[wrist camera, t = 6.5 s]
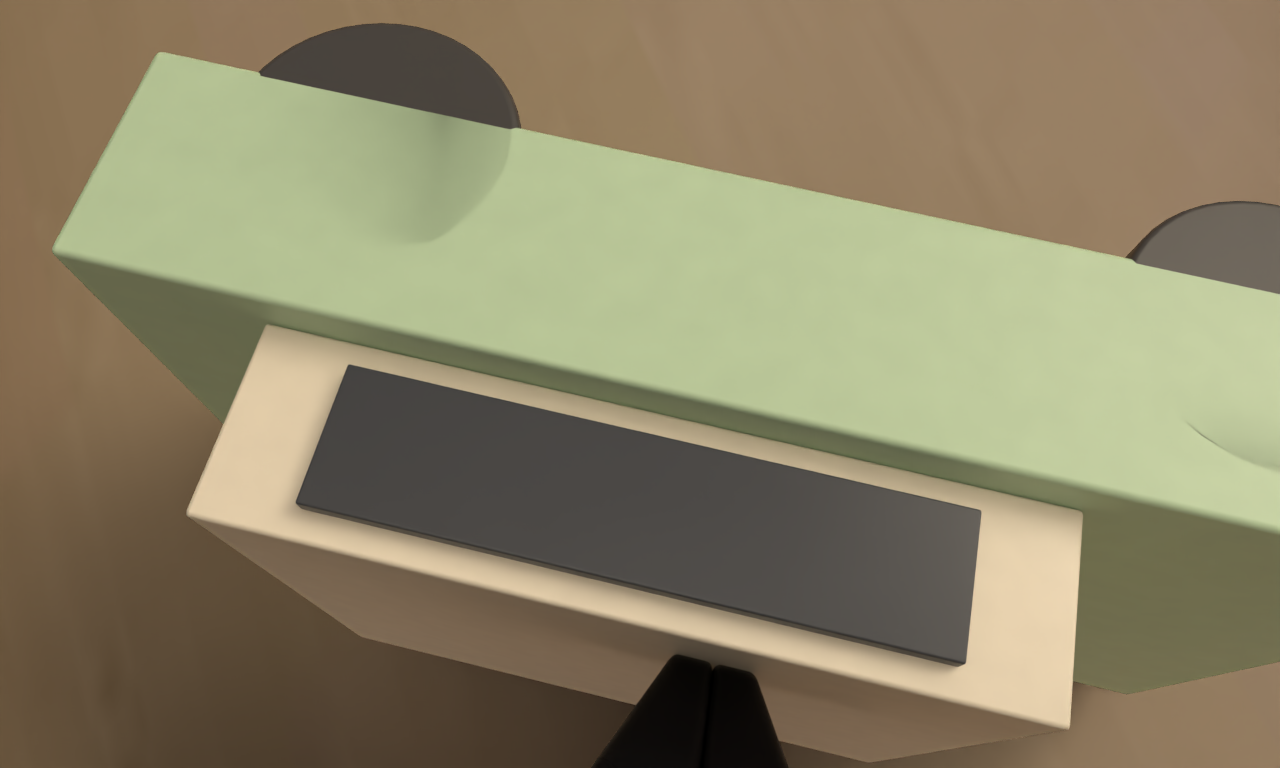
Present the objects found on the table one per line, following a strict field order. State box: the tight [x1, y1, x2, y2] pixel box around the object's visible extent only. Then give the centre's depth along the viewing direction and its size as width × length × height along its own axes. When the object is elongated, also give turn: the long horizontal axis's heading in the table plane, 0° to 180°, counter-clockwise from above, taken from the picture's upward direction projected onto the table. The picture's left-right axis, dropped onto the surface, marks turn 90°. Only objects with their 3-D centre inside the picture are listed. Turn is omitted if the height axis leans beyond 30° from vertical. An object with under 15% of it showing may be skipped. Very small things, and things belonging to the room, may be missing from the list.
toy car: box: [52, 23, 1280, 763], centre depth 13 cm, size 14×6×8 cm, turn 77°
